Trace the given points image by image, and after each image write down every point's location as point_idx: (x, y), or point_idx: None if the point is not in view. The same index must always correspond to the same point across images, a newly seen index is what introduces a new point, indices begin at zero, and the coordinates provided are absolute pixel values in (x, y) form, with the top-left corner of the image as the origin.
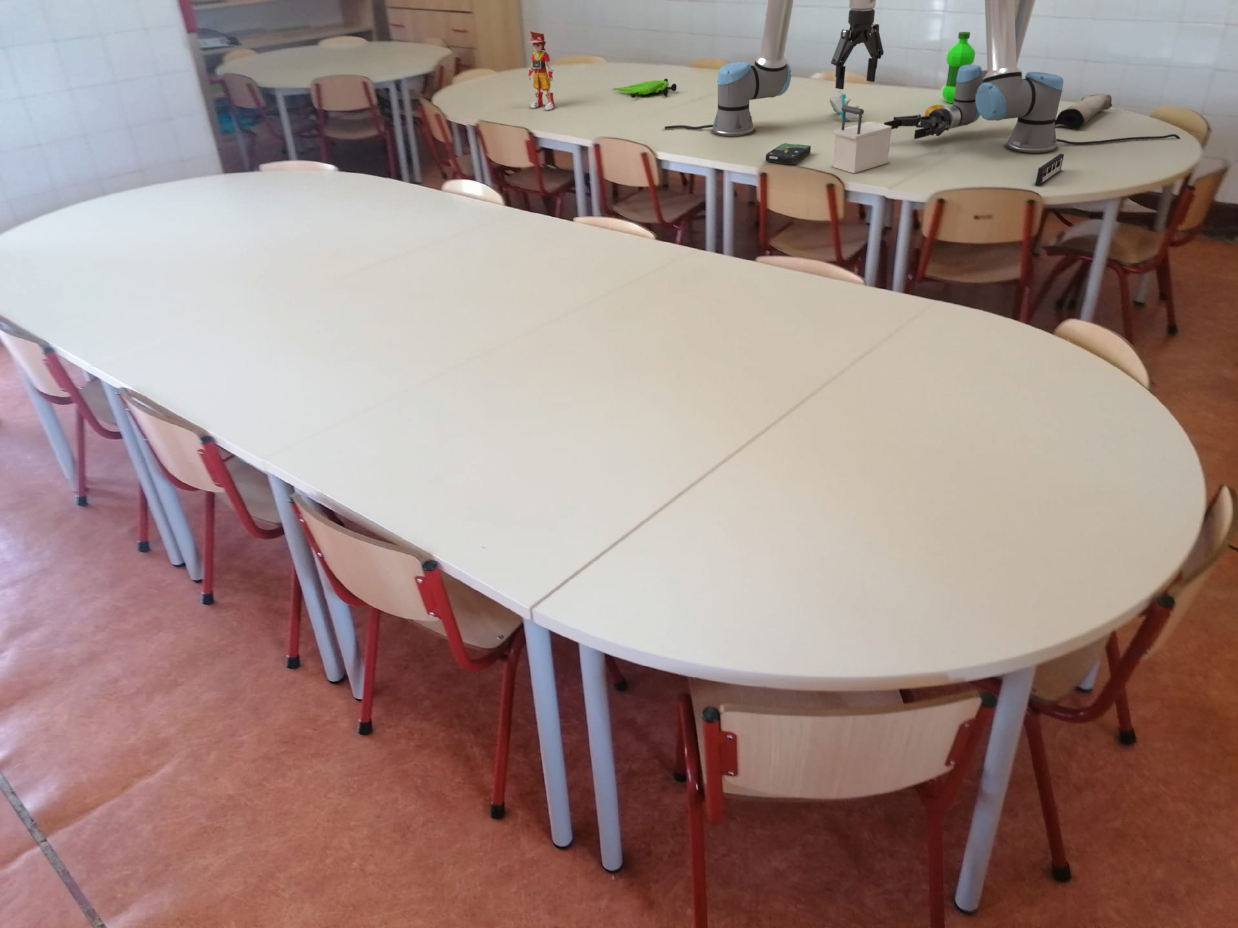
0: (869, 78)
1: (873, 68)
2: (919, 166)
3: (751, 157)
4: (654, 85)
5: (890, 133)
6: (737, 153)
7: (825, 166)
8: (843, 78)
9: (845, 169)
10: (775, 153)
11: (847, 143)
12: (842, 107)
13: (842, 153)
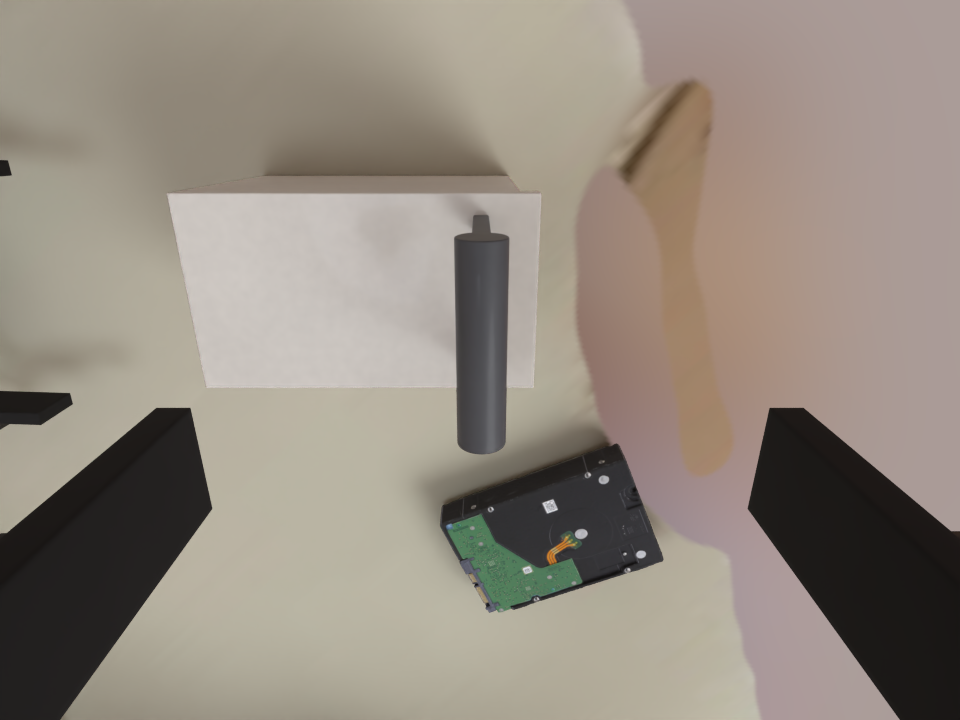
0: (184, 489)
1: (70, 543)
2: (157, 4)
3: (633, 611)
4: None
5: (193, 189)
6: (628, 668)
7: None
8: (887, 494)
9: None
10: (620, 549)
11: None
12: (503, 440)
13: None
